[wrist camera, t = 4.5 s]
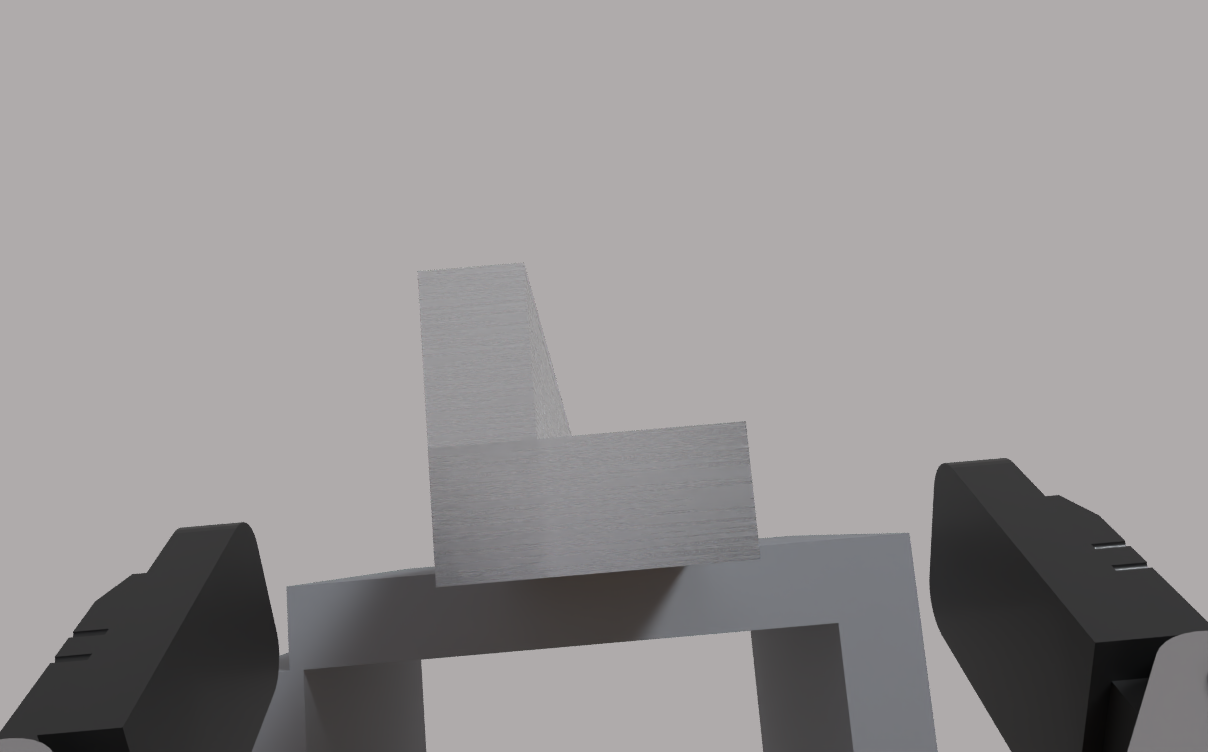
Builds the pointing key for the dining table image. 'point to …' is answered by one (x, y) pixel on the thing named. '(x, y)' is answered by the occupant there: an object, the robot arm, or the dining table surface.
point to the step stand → (618, 614)
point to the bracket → (557, 456)
